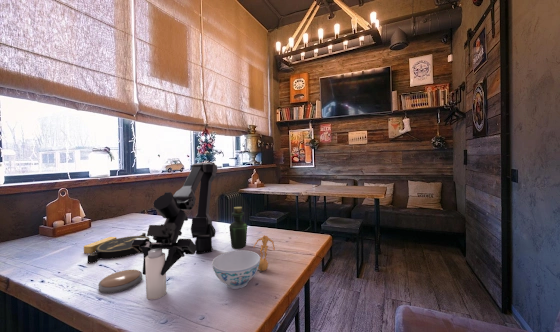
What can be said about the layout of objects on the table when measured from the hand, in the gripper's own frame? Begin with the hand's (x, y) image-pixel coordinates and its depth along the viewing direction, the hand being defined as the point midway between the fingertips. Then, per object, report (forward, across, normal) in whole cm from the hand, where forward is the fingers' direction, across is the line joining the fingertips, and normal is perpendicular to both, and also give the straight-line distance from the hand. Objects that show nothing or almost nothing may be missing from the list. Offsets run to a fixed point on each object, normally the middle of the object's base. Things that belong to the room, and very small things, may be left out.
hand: (152, 274), depth 66 cm
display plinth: (0, -16, +10) cm, 18 cm away
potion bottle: (-24, +14, +33) cm, 43 cm away
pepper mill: (+4, 0, +6) cm, 7 cm away
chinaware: (-2, +22, +11) cm, 25 cm away
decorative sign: (-20, -40, +30) cm, 54 cm away
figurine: (-9, +29, +18) cm, 36 cm away
